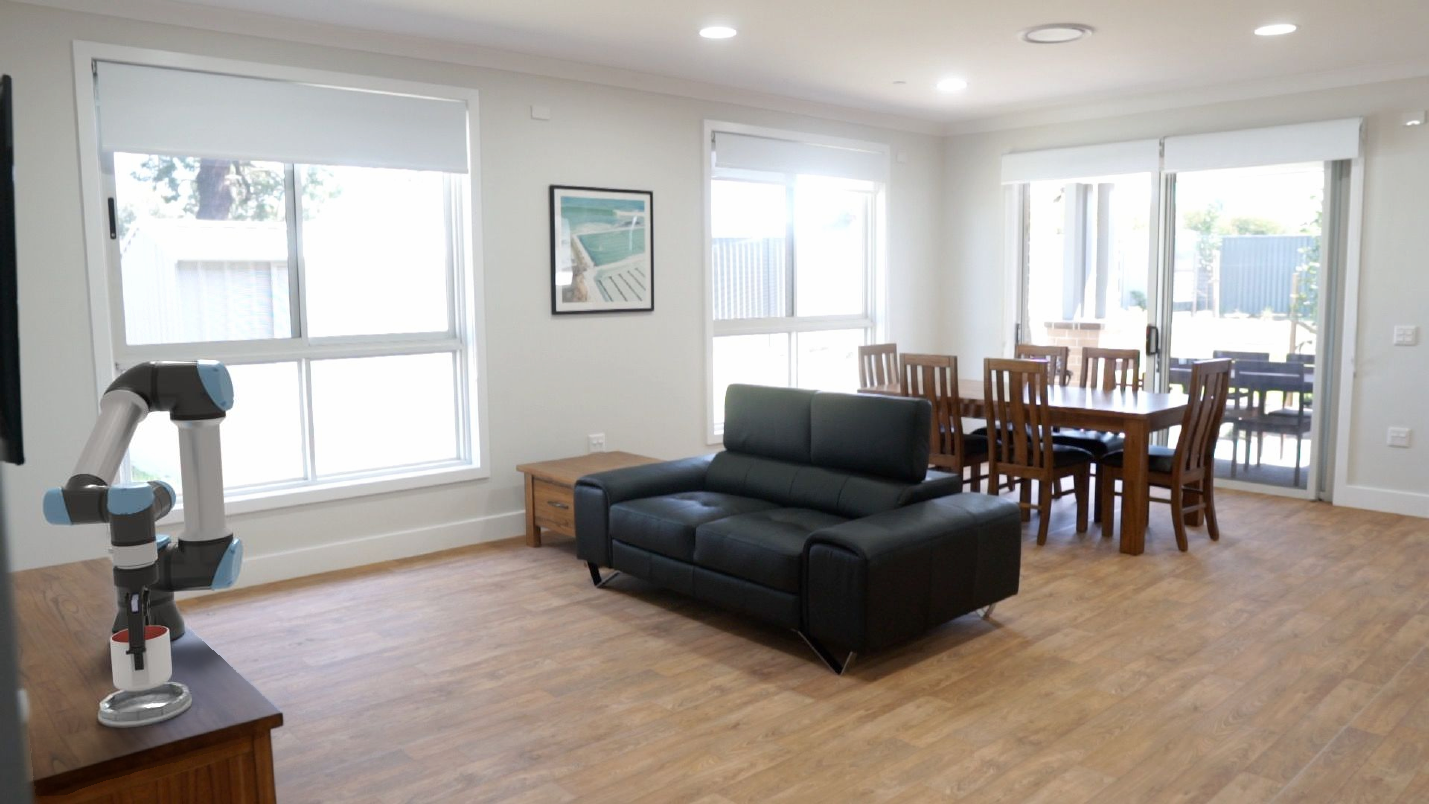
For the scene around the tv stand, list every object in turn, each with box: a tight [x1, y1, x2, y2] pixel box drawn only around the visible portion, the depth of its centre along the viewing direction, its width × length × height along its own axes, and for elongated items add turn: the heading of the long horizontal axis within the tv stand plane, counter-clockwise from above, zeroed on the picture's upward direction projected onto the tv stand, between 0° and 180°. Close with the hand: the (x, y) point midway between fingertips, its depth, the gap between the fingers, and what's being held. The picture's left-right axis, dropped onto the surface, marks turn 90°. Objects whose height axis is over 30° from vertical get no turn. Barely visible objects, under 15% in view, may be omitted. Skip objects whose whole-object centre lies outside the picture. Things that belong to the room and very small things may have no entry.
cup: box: [109, 626, 173, 691], centre depth 197 cm, size 10×10×10 cm
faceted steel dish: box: [97, 681, 193, 729], centre depth 198 cm, size 16×16×2 cm
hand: (143, 674), depth 198 cm, fingers closed on cup, 10 cm apart
